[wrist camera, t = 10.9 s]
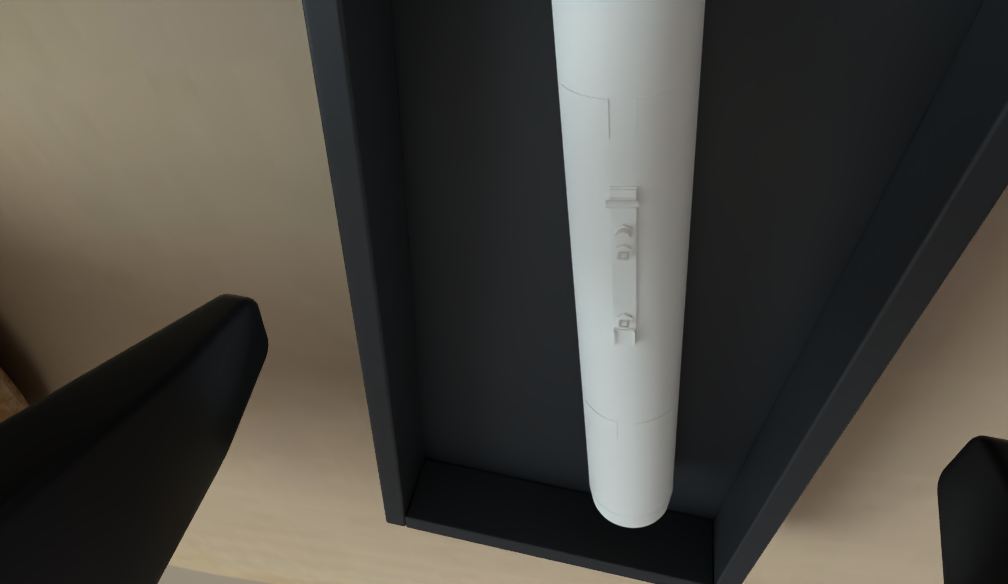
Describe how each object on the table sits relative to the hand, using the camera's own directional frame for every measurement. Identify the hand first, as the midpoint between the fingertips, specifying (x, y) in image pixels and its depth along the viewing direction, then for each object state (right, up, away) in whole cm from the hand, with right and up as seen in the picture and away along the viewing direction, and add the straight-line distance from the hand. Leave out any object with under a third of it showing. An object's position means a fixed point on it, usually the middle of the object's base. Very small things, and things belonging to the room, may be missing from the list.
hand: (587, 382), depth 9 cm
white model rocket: (+1, +3, +4) cm, 5 cm away
